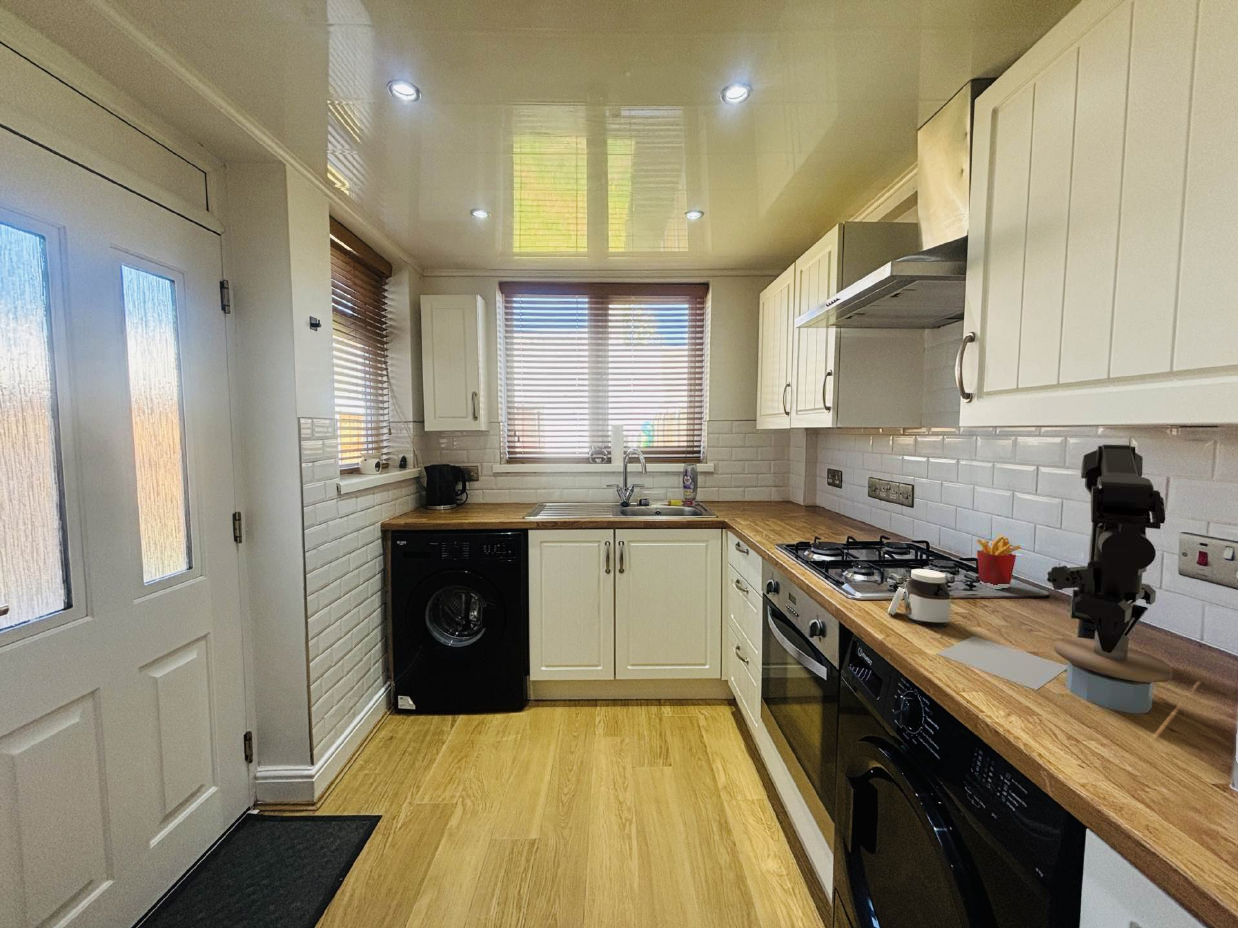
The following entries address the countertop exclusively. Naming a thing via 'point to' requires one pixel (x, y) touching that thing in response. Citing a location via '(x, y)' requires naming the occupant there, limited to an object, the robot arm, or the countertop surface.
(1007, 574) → the french fries
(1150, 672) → the lid
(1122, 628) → the robot arm
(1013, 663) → the mat
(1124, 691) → the bowl
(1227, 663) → the countertop surface
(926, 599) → the spread jar
